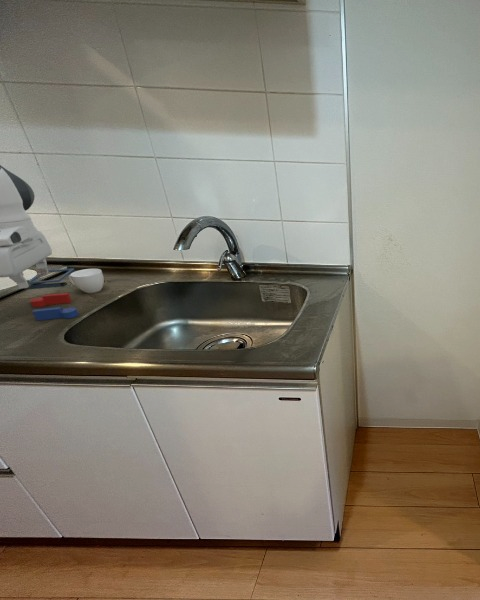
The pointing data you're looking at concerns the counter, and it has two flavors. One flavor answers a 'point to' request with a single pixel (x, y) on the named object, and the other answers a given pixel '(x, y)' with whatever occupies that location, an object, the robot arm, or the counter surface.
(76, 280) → the cup
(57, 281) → the dark blue open frame
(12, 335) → the counter surface
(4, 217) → the robot arm
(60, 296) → the red stepped block
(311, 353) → the counter surface
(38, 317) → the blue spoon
